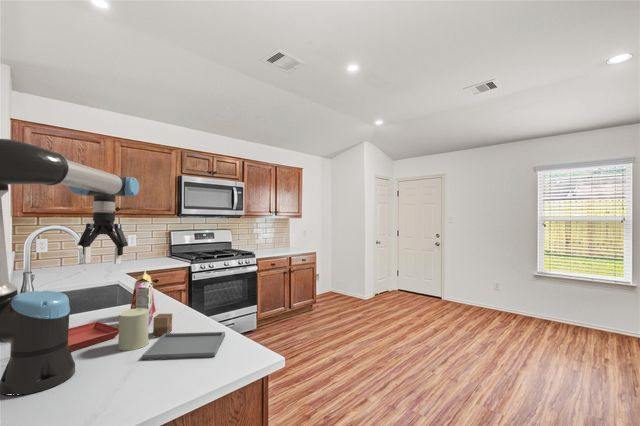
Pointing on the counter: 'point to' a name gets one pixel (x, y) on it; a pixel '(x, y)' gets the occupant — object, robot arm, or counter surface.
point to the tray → (185, 345)
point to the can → (133, 329)
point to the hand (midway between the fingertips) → (102, 263)
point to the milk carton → (140, 279)
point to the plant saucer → (90, 335)
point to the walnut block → (162, 324)
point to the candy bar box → (144, 297)
